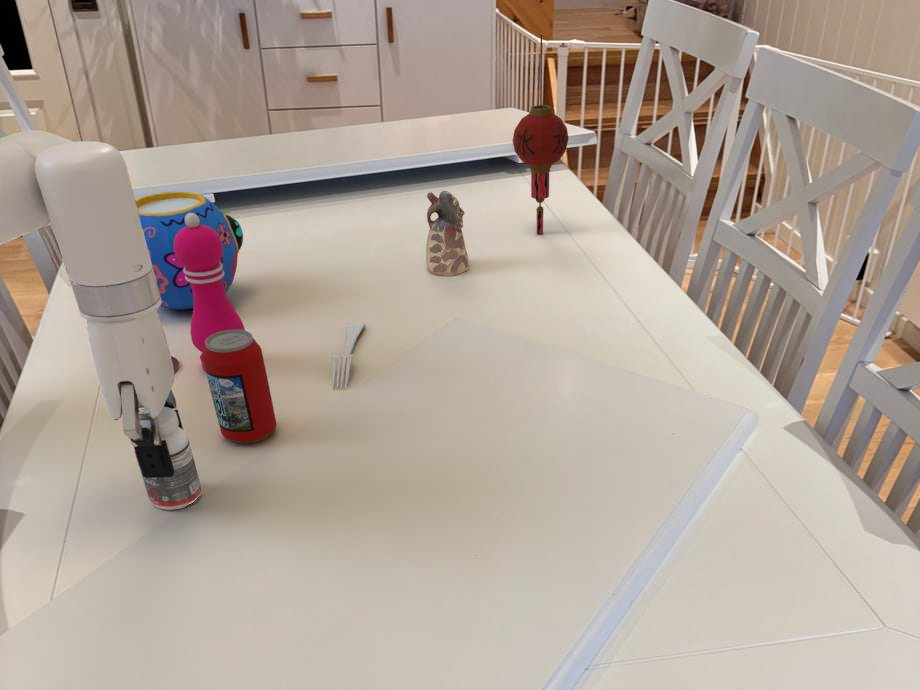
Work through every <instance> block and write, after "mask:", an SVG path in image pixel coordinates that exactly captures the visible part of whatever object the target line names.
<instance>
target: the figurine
mask: <svg viewBox="0 0 920 690" xmlns="http://www.w3.org/2000/svg"><path fill="white" fill-rule="evenodd" d="M426 198H427V200H428V201H429V202H430V203H431V205H429V207H428V209H427V212H426V220H427V223H428V226H429V230H428V234H427V238H426V246H425V262H426V263H425V264H426V268H427V271H428V272H429V273H430V274H433V275H435V276H441V277H451V276H457V275H460V274H463V273H464V272H468V271H469V270H470V262H469V261H470V260H469V255H468V252H467V248H466V243H465V238H464V234H463V231H462V228H464V221H463V219H464V218H463V217H464V215H465V211H464V210H463V208H462V207H460V202H459V200H458V199H457V197H456V196H454V194H453V193H451V192H450V191H448V190H442V191H440V193H439V195H438V197H437V196H436V194H434V193H433V192H432V191H429V192H428V193H427V194H426ZM434 213H436V214H437V216H438V217H437V218H436V219H434V220H432V219H431V217H432V215H433V214H434Z"/></svg>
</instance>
